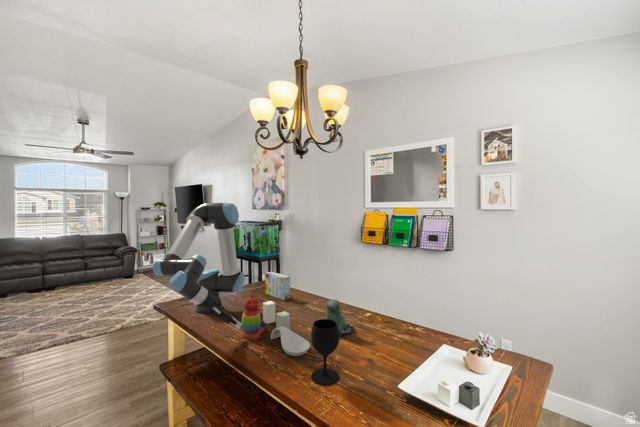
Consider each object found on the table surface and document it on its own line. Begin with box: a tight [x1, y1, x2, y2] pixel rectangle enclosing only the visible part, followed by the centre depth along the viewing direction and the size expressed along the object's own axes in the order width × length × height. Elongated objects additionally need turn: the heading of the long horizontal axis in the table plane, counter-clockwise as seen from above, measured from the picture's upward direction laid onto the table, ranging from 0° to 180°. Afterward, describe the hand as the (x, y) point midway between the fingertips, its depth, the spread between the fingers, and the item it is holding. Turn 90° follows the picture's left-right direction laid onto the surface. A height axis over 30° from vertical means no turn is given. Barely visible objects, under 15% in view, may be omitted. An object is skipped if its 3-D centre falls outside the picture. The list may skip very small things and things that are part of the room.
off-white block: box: [262, 300, 276, 325], centre depth 159 cm, size 5×5×10 cm
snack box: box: [264, 271, 291, 301], centre depth 201 cm, size 21×6×15 cm, turn 46°
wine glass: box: [310, 318, 340, 386], centre depth 109 cm, size 10×10×20 cm
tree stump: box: [325, 299, 355, 336], centre depth 148 cm, size 18×20×18 cm
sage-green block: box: [275, 310, 291, 338], centre depth 144 cm, size 5×5×10 cm
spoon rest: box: [270, 326, 311, 357], centre depth 131 cm, size 24×12×7 cm, turn 40°
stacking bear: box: [240, 296, 266, 341], centre depth 143 cm, size 11×10×18 cm
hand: (239, 326), depth 140 cm, fingers closed
